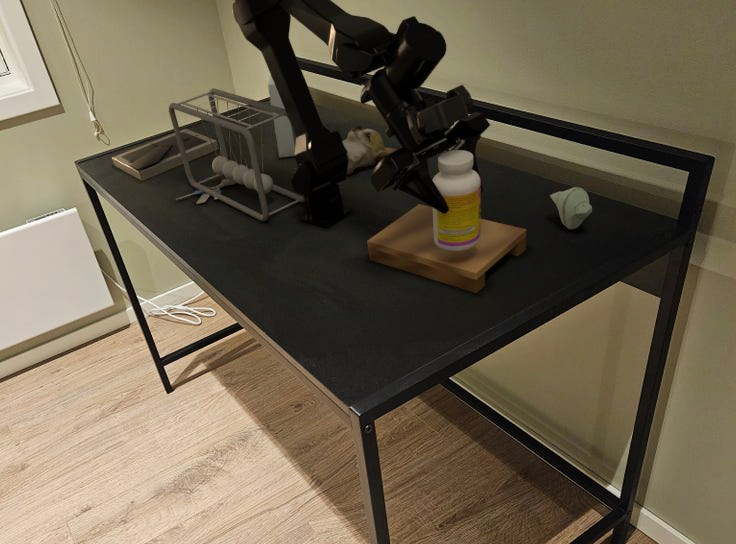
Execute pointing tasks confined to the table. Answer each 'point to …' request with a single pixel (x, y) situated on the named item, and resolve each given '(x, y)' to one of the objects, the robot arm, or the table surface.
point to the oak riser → (424, 258)
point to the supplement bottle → (457, 202)
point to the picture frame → (163, 154)
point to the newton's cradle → (222, 163)
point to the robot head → (572, 206)
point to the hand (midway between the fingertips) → (463, 202)
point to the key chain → (205, 196)
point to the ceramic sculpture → (364, 148)
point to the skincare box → (281, 125)
